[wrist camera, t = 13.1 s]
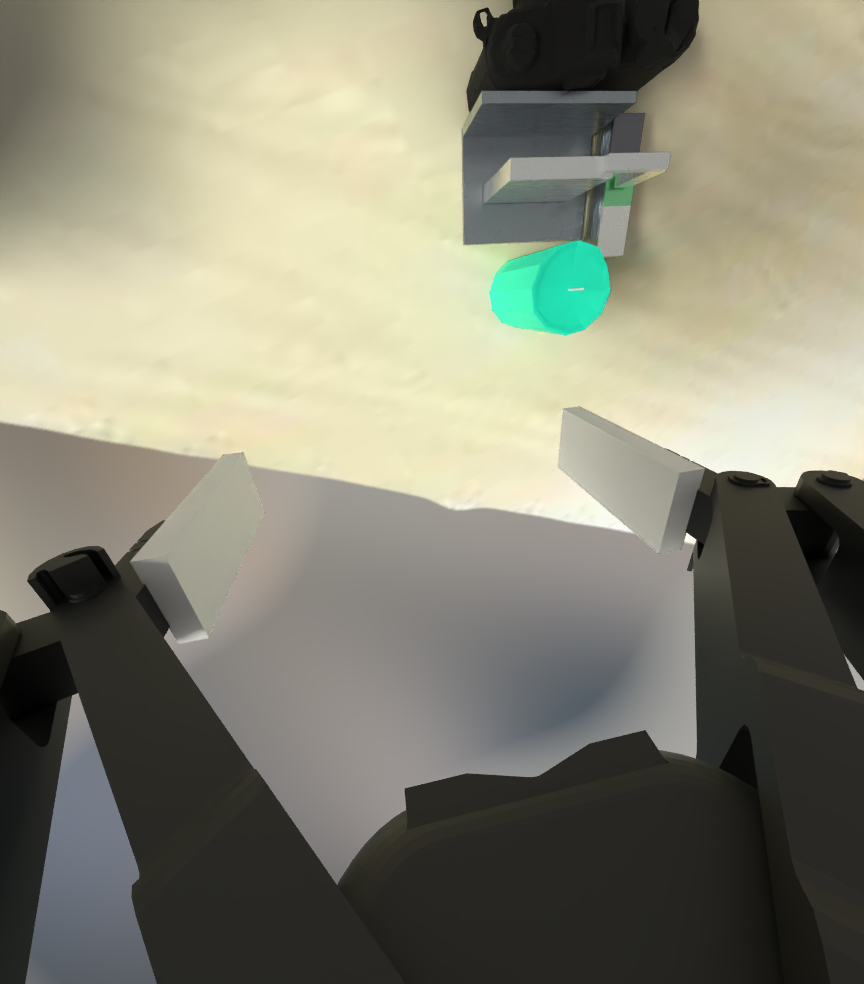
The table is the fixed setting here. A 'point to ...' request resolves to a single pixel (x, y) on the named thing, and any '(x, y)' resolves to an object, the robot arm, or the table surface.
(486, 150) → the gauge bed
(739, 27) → the table surface
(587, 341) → the table surface
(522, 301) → the candle
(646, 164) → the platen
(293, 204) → the table surface
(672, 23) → the film camera
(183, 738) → the robot arm
